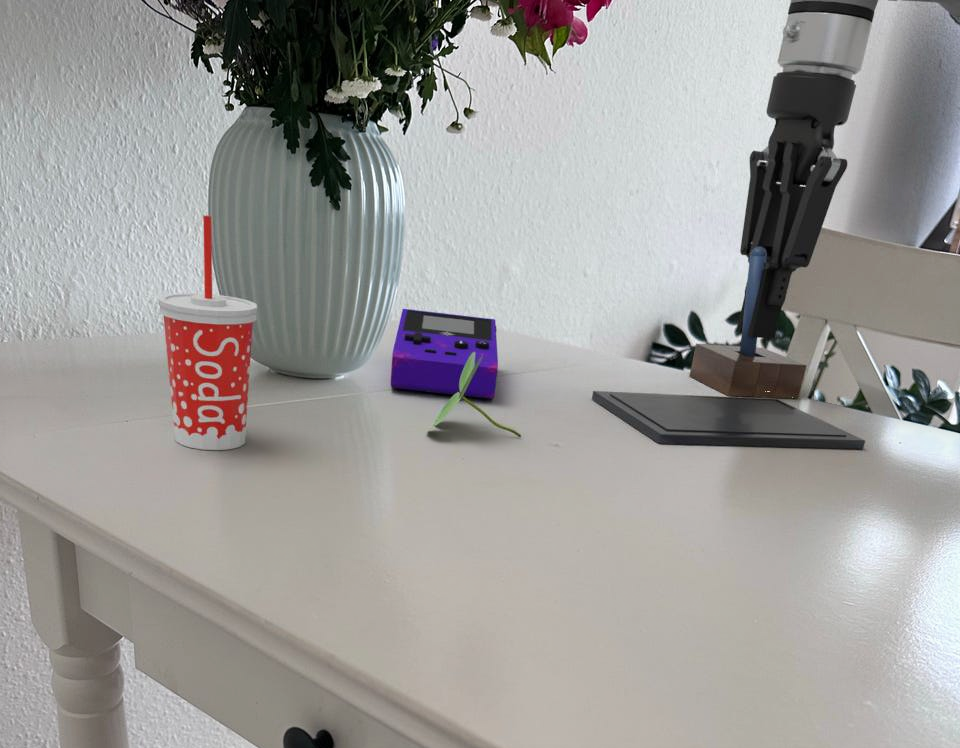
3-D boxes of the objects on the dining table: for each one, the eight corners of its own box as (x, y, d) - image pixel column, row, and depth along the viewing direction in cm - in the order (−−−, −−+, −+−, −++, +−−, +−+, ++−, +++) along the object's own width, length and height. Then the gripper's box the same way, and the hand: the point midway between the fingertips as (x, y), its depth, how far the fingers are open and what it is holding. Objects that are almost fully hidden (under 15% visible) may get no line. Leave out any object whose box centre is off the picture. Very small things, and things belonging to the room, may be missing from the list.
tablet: (775, 407, 96) (777, 398, 95) (863, 449, 84) (866, 439, 83) (591, 399, 89) (592, 389, 89) (658, 443, 78) (660, 433, 77)
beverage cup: (152, 448, 62) (142, 213, 56) (175, 423, 68) (169, 206, 61) (247, 457, 63) (248, 226, 56) (263, 432, 68) (266, 218, 62)
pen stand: (755, 379, 107) (763, 347, 106) (798, 399, 100) (807, 365, 99) (689, 376, 105) (695, 343, 103) (728, 395, 98) (736, 361, 96)
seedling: (474, 495, 76) (407, 445, 74) (516, 421, 79) (453, 371, 77) (518, 465, 70) (446, 409, 68) (561, 385, 73) (493, 330, 71)
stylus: (746, 384, 103) (762, 245, 96) (754, 388, 102) (770, 247, 95) (733, 386, 103) (747, 246, 96) (741, 389, 102) (756, 248, 95)
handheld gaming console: (390, 351, 81) (402, 303, 93) (387, 410, 84) (398, 357, 96) (500, 363, 81) (497, 314, 94) (493, 422, 84) (490, 367, 97)
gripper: (740, 70, 94) (690, 319, 105) (829, 65, 82) (761, 347, 93) (805, 81, 97) (749, 323, 107) (900, 77, 84) (827, 351, 95)
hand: (755, 334), depth 100 cm, fingers closed on stylus, 1 cm apart
